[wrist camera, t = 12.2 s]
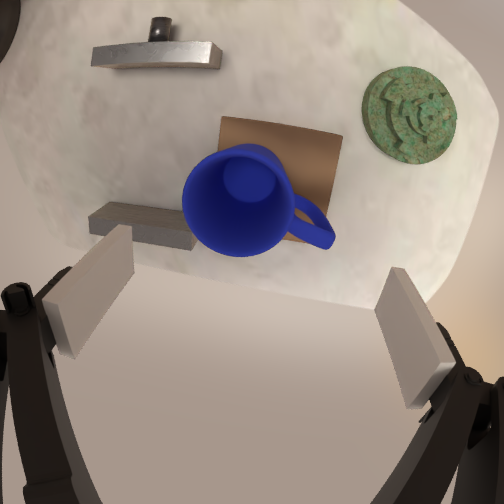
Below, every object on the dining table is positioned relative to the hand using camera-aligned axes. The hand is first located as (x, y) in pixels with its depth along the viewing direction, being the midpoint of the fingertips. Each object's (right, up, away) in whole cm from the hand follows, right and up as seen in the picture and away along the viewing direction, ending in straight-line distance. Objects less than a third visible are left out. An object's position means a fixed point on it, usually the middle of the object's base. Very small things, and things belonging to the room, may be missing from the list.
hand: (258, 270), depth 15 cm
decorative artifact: (+16, +15, +12) cm, 25 cm away
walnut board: (+2, +8, +17) cm, 19 cm away
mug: (+1, +8, +16) cm, 18 cm away
